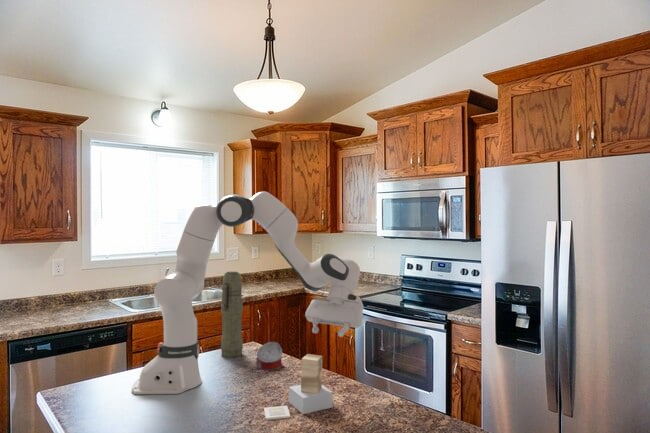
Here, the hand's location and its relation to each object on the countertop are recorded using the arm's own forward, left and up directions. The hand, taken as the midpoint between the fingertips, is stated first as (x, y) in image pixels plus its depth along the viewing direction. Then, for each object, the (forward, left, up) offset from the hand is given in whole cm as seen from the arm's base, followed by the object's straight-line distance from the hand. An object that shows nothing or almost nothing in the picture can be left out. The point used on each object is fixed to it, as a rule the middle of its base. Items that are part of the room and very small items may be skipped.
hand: (327, 334), depth 148 cm
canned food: (-16, +30, -19) cm, 39 cm away
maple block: (-7, -10, -14) cm, 19 cm away
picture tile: (-18, -14, -19) cm, 30 cm away
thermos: (-30, +47, -19) cm, 59 cm away
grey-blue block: (-7, -9, -19) cm, 23 cm away
